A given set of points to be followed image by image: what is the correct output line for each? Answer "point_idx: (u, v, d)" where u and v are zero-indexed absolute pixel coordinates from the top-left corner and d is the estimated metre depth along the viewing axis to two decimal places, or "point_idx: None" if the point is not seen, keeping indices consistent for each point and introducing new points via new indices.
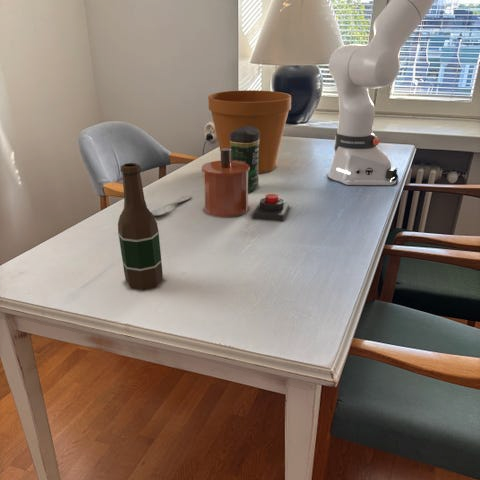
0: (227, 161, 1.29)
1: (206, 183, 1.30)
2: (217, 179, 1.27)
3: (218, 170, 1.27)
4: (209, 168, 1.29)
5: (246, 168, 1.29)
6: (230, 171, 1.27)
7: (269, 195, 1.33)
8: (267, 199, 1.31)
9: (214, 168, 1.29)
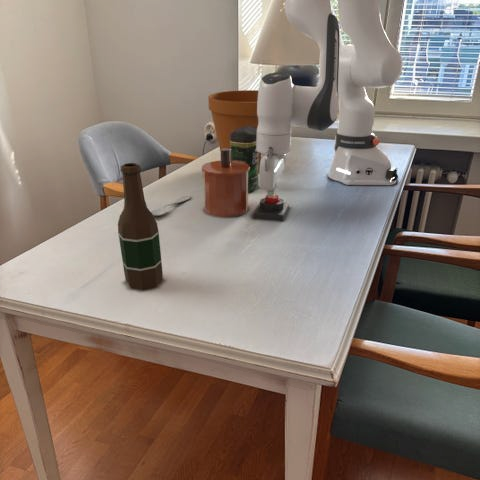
0: (227, 161, 1.29)
1: (206, 183, 1.30)
2: (217, 179, 1.27)
3: (218, 170, 1.27)
4: (209, 168, 1.29)
5: (246, 168, 1.29)
6: (230, 171, 1.27)
7: None
8: (267, 199, 1.31)
9: (214, 168, 1.29)
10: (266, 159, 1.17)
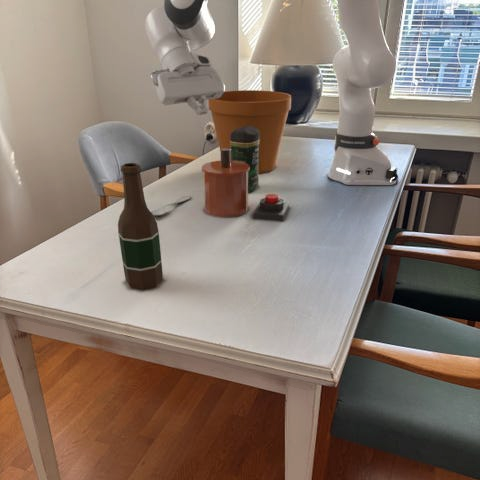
0: (227, 161, 1.29)
1: (206, 183, 1.30)
2: (217, 179, 1.27)
3: (218, 170, 1.27)
4: (209, 168, 1.29)
5: (246, 168, 1.29)
6: (230, 171, 1.27)
7: (269, 195, 1.33)
8: (267, 199, 1.31)
9: (214, 168, 1.29)
10: (151, 76, 1.25)
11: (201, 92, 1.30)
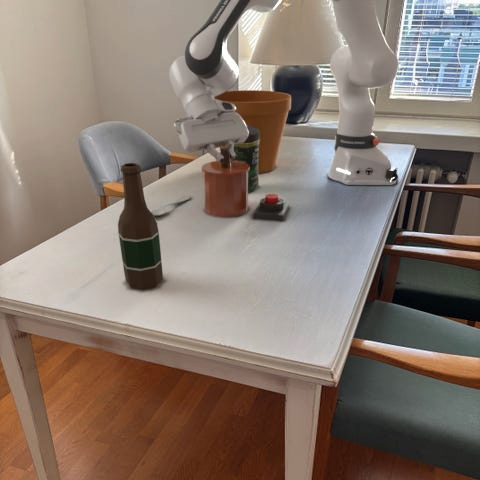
0: (227, 161, 1.29)
1: (206, 183, 1.30)
2: (217, 179, 1.27)
3: (218, 170, 1.27)
4: (209, 168, 1.29)
5: (246, 168, 1.29)
6: (230, 171, 1.27)
7: (269, 195, 1.33)
8: (267, 199, 1.31)
9: (214, 168, 1.29)
10: (174, 124, 1.25)
11: (225, 138, 1.29)
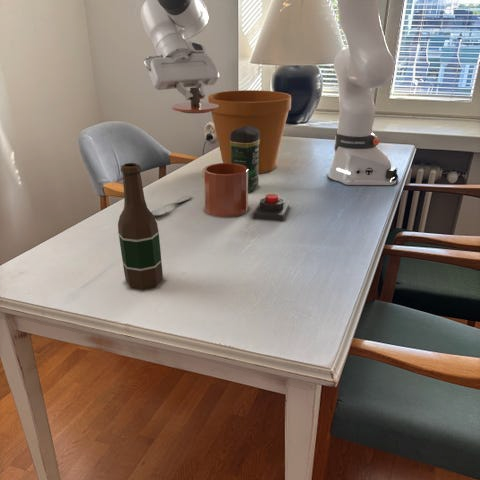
0: (196, 100, 1.32)
1: (206, 183, 1.30)
2: (217, 179, 1.27)
3: (187, 108, 1.30)
4: (179, 106, 1.32)
5: (215, 107, 1.32)
6: (199, 108, 1.29)
7: (269, 195, 1.33)
8: (267, 199, 1.31)
9: (184, 106, 1.32)
10: (144, 61, 1.28)
11: (194, 77, 1.32)
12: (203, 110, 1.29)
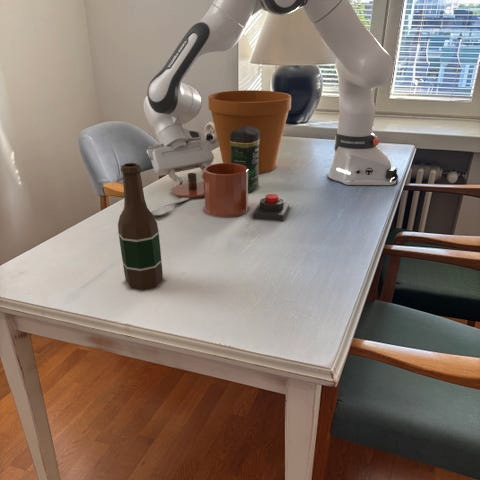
0: (193, 184, 1.48)
1: (206, 183, 1.30)
2: (217, 179, 1.27)
3: (185, 192, 1.47)
4: (178, 190, 1.48)
5: None
6: (195, 193, 1.46)
7: (269, 195, 1.33)
8: (267, 199, 1.31)
9: (182, 190, 1.49)
10: (147, 151, 1.44)
11: (192, 163, 1.48)
12: (199, 195, 1.45)
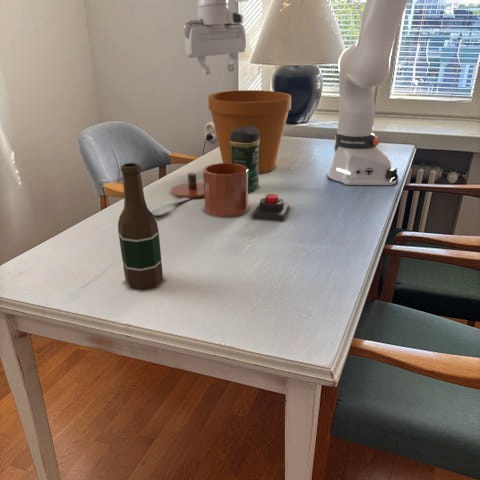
0: (193, 184, 1.48)
1: (206, 183, 1.30)
2: (217, 179, 1.27)
3: (185, 192, 1.47)
4: (178, 190, 1.48)
5: None
6: (195, 193, 1.46)
7: (269, 195, 1.33)
8: (267, 199, 1.31)
9: (182, 190, 1.49)
10: (184, 26, 1.34)
11: (224, 52, 1.42)
12: (199, 195, 1.45)
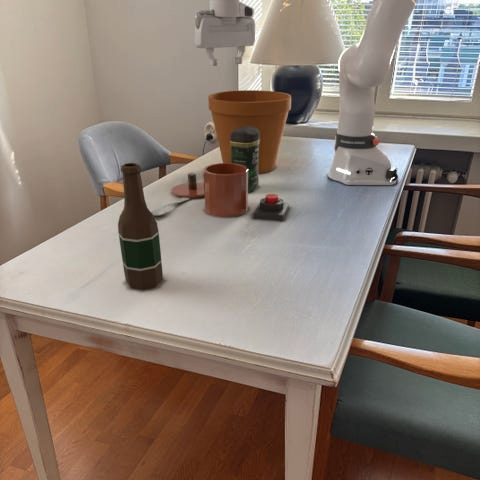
0: (193, 184, 1.48)
1: (206, 183, 1.30)
2: (217, 179, 1.27)
3: (185, 192, 1.47)
4: (178, 190, 1.48)
5: None
6: (195, 193, 1.46)
7: (269, 195, 1.33)
8: (267, 199, 1.31)
9: (182, 190, 1.49)
10: (196, 16, 1.33)
11: (232, 45, 1.42)
12: (199, 195, 1.45)
